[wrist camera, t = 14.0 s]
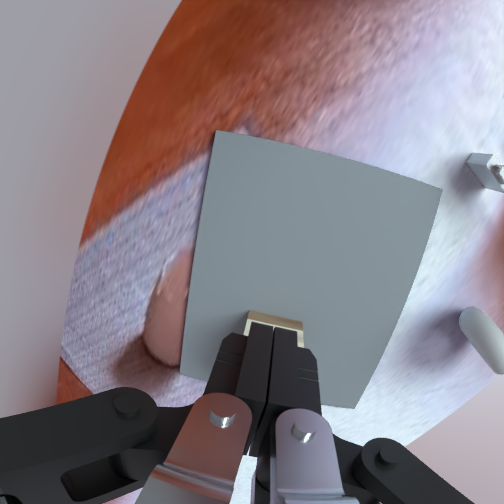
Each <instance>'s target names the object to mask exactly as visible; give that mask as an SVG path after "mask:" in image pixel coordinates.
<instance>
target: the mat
mask: <svg viewBox="0 0 504 504" xmlns="http://www.w3.org/2000/svg"><path fill="white" fill-rule="evenodd" d="M441 193H442V189H440V188H437V187H434V186H431V185H429V184H426V183H423V182H420V181H417V180H414V179H411V178H408V177H405V176H402V175H399V174H396V173H393V172H390V171H387V170H384V169H380V168H377V167H374V166H370V165H367V164H364V163H360V162H357V161H353V160H350V159H346V158H342V157H339V156H335V155H331V154H327V153H323V152H319V151H315V150H311V149H307V148H303V147H299V146H295V145H290V144H286V143H281V142H276V141H272V140H267V139H262V138H257V137H252V136H247V135H241V134H236V133H230V132H225V131H219V130H216V134H215V139H214V144H213V149H212V154H211V159H210V165H209V170H208V175H207V181H206V187H205V192H204V198H203V204H202V210H201V216H200V222H199V228H198V234H197V241H196V247H195V254H194V261H193V267H192V274H191V282H190V289H189V296H188V304H187V312H186V320H185V329H184V337H183V346H182V355H181V365H180V374H182V375H185V376H189V377H193V378H196V379H200V380H204V381H207V382H208V380H209V377H210V374H211V371H212V368H213V365H214V363H215V360H216V357H217V354H218V352H219V348H220V345H221V343H222V340H223V339H224V338H225V337H227V336H228V335H229V334H231V333H232V332H233V333H237V334H241V335H244V331H245V327H246V323H247V319H248V315H249V311H250V310H252V311H257V312H261V313H265V314H270V315H274V316H279V317H283V318H288V319H293V320H297V321H302V322H303V339H304V348H307V349H310V350H311V352H312V353H313V355H314V356H315V358H316V359H317V367H318V372H317V373H318V378H319V380H318V382H319V389H320V400H321V405H328V406H336V407H344V408H352V409H354V408H355V407H356V405H357V403H358V401H359V399H360V398H361V396H362V394H363V392H364V390H365V388H366V387H367V385H368V383H369V381H370V379H371V377H372V375H373V373H374V371H375V369H376V367H377V365H378V363H379V361H380V359H381V357H382V355H383V353H384V351H385V348H386V346H387V344H388V342H389V340H390V338H391V335H392V333H393V331H394V329H395V326H396V324H397V322H398V319H399V317H400V315H401V312H402V310H403V307H404V305H405V303H406V300H407V298H408V295H409V292H410V290H411V287H412V285H413V282H414V279H415V277H416V274H417V271H418V268H419V266H420V263H421V260H422V257H423V254H424V251H425V248H426V245H427V242H428V239H429V235H430V232H431V229H432V226H433V222H434V219H435V215H436V212H437V208H438V205H439V201H440V197H441Z"/></svg>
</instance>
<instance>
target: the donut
mask: <svg viewBox="0 0 504 504" xmlns="http://www.w3.org/2000/svg"><path fill="white" fill-rule="evenodd" d="M459 326H460V329H461V330H462V332H463V333H464V335H465V336H466V337H467V339H468V340H469V341H470V342H471V344H472V345H473V346H474V348H475V349H476V350H477V351H478V353H479V354H480V355H481V357H482V358H483V359H484V360H485V362H486V363H487V364H488V366H489V367H490V368H491V369H492V370H493V371H494V372H495V373H497V374H504V334H503V333H502V331H501V330H500V329H499V328H498V326H497V325H496V324H495V323H494V322H493V321H492V320H491V318H490V317H489V316H488V315H487V314H486V313H484V312H483V311H482V310H481V309H479V308H477V307H475V306H470V307H468V308H466V309H465V310H463V312H462V313H461V315H460V318H459Z"/></svg>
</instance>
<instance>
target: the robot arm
mask: <svg viewBox="0 0 504 504" xmlns="http://www.w3.org/2000/svg"><path fill="white" fill-rule="evenodd" d="M317 372H318V367H317V359H316V358H315V356H314V355H313V353H312V352H311V350H310V349H307V348H302V347H298V340H297V331H294V330H289V329H284V328H280V327H275V328H274V330H273V326H270V325H266V324H261V323H257V322H251V326H250V330H249V334H248V336H246V335H241V334H237V333H233V332H232V333H231V334H229V335H228V336H227V337H225V338H224V339H223V340H222V343H221V345H220V348H219V352H218V354H217V357H216V360H215V363H214V365H213V368H212V371H211V374H210V377H209V380H208V383H207V385H206V388H205V391H204V393H203V395H202V396H201V397H200V398H198V399H197V400H196V401H195V403H193V404H191V405H188V406H184V407H157V405H156V403H155V401H154V400H153V399H152V398H151V397H150V396H149V395H148V394H147V393H145V392H143V391H141V390H138V389H135V388H130V387H119V388H114V389H111V390H108V391H104V392H101V393H98V394H94V395H91V396H87V397H84V398H80V399H77V400H73V401H70V402H66V403H62V404H58V405H55V406H51V407H47V408H43V409H39V410H35V411H31V412H26V413H22V414H18V415H13V416H9V417H4V418H0V504H102V503H105V502H108V501H110V500H113V499H115V498H118V497H121V496H123V495H125V494H128V493H130V492H133V491H135V490H137V489H140V488H142V487H143V489H142V491H141V493H140V495H139V496H138V498H137V500H136V502H135V504H229V503H230V500H231V496H232V493H233V489H234V487H233V486H234V482H235V479H236V475H237V472H238V468H239V465H240V462H241V459H242V456H243V455H247V452H248V450H249V447H250V451H249V456H253V457H258V458H257V466H256V470H255V472H254V474H253V476H252V483H251V503H250V504H380V503H379V502H381V503H382V504H474V503H473V502H472V501H470V500H469V499H468V498H467V497H465V496H464V495H463V494H461V493H460V492H459V491H458V490H456V489H455V488H454V487H452V486H451V485H450V484H449V483H447V482H446V481H445V480H444V479H443V478H441V477H440V476H439V475H438V474H436V473H435V472H434V471H433V470H431V469H430V468H429V467H428V466H427V465H425V464H424V463H423V462H422V461H420V460H419V459H418V458H417V457H416V456H415V455H413V454H412V453H411V452H410V451H409V450H407V449H406V448H405V447H404V446H403V445H401V444H400V443H398V442H396V441H394V440H392V439H388V438H375V439H372V440H370V441H368V442H367V443H366V444H365V445H364V447H363V446H360V445H357V444H354V443H351V442H348V441H345V440H343V439H341V438H339V437H337V436H335V435H334V434H333V433H332V429H331V427H330V425H329V423H328V422H327V420H325V419H324V418H323V417H322V412H321V400H320V389H319V382H318V380H319V378H318V373H317Z"/></svg>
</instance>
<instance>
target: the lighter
mask: <svg viewBox="0 0 504 504" xmlns="http://www.w3.org/2000/svg"><path fill="white" fill-rule="evenodd" d="M466 164H467V165H468V166H469V168H470V169H471V170H472V172H473V173H474V174H475V176H476V177H477V178H478V179H479V181H480V182H481V184H482V185H483V186H484V188H488V189H491V190H495V191H499V192H502V193H504V166H503V165H502V164H501V162H500V161H499V160H498V158H497V157H496V155H494V154H482V153H472V154H471V155H470V157H469V158H468V160H467V161H466Z"/></svg>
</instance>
